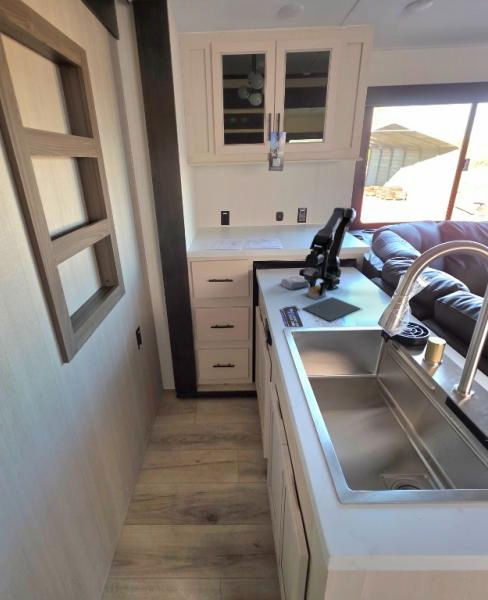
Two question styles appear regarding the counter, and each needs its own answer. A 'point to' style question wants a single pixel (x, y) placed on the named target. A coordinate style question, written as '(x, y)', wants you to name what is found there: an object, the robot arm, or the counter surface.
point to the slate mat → (331, 309)
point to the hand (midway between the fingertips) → (316, 294)
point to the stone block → (294, 282)
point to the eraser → (315, 292)
